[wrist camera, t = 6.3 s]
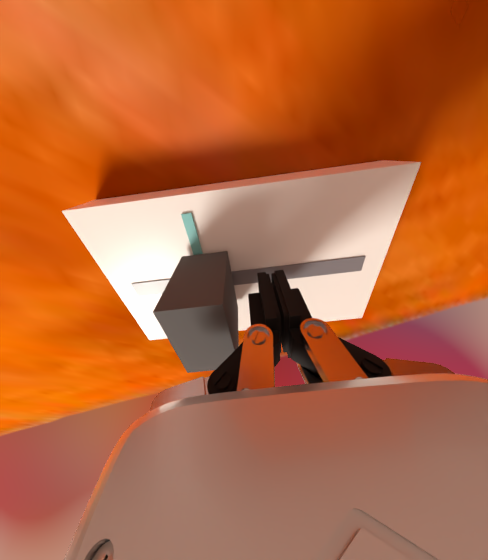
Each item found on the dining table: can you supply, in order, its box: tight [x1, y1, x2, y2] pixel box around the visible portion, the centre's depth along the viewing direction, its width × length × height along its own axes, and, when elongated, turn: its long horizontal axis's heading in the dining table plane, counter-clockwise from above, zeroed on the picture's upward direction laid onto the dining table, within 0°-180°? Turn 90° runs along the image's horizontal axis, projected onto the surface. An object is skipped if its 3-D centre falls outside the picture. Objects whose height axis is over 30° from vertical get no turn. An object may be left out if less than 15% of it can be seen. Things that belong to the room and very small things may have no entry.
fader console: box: [62, 160, 421, 340], centre depth 15 cm, size 20×12×3 cm, turn 97°
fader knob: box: [153, 251, 238, 373], centre depth 11 cm, size 3×5×5 cm, turn 7°
